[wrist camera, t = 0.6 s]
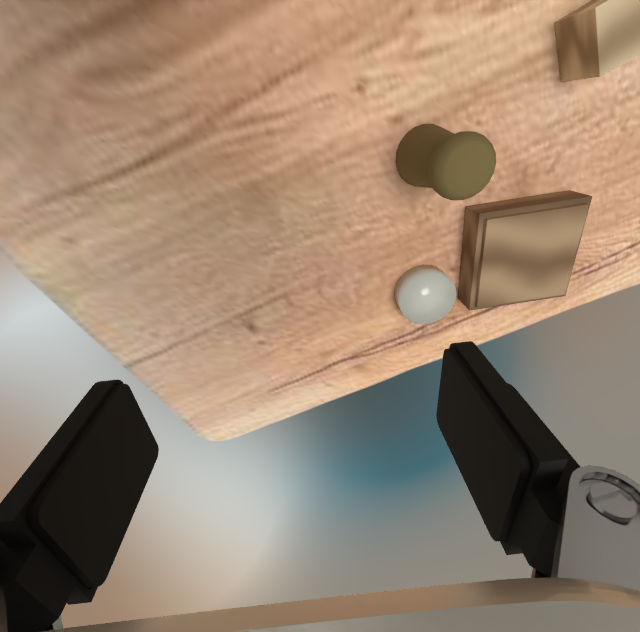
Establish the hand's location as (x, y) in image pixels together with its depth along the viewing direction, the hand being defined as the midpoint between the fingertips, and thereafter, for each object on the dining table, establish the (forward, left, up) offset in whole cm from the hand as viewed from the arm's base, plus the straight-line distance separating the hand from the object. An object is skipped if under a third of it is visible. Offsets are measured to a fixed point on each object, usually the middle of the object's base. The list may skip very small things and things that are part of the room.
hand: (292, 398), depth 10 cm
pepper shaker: (-2, +14, -31) cm, 34 cm away
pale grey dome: (+14, +14, -31) cm, 37 cm away
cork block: (-10, +29, -31) cm, 44 cm away
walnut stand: (+10, +25, -31) cm, 41 cm away
